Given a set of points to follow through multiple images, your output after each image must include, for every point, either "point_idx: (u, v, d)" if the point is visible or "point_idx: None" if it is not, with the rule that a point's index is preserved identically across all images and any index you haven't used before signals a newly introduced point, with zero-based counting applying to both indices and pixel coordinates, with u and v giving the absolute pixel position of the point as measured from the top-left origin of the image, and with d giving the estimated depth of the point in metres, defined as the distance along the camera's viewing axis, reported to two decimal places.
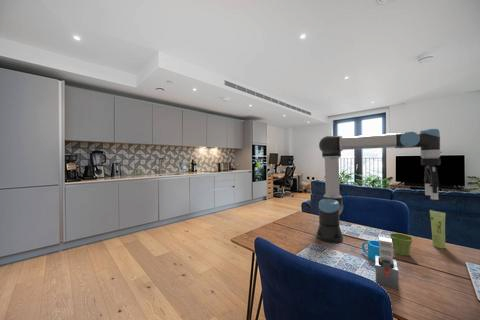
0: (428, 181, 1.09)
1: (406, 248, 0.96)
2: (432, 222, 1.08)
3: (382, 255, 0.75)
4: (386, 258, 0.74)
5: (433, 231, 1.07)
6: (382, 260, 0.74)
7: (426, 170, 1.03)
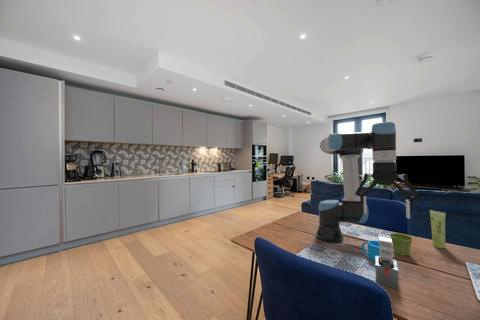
0: (406, 196, 0.72)
1: (406, 248, 0.96)
2: (432, 222, 1.08)
3: (382, 255, 0.75)
4: (386, 258, 0.74)
5: (433, 231, 1.07)
6: (382, 260, 0.74)
7: None
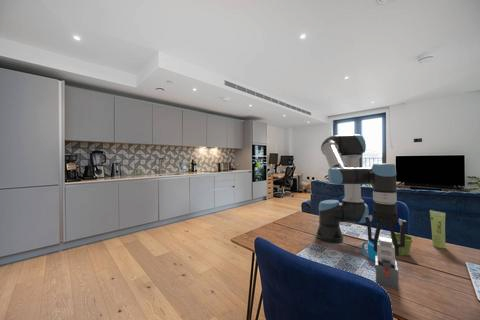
0: (393, 241, 0.74)
1: (406, 248, 0.96)
2: (432, 222, 1.08)
3: (382, 255, 0.75)
4: (386, 258, 0.74)
5: (433, 231, 1.07)
6: (382, 260, 0.74)
7: None
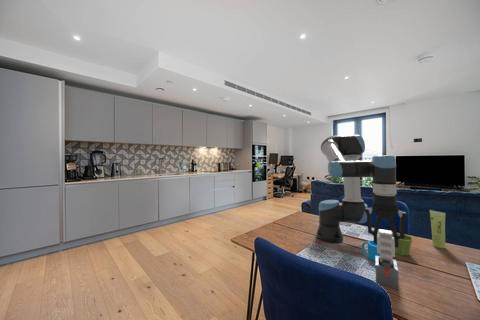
0: (393, 233, 0.74)
1: (406, 248, 0.96)
2: (432, 222, 1.08)
3: (382, 247, 0.75)
4: (386, 250, 0.74)
5: (433, 231, 1.07)
6: (382, 252, 0.74)
7: None
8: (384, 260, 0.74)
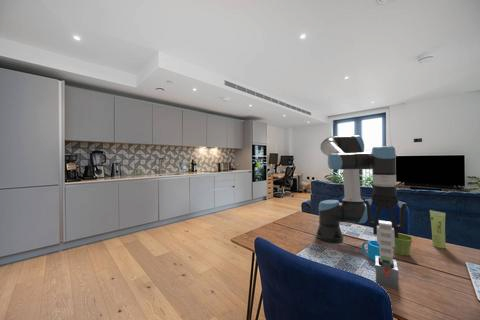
0: (393, 224, 0.75)
1: (406, 248, 0.96)
2: (432, 222, 1.08)
3: (382, 238, 0.75)
4: (386, 241, 0.74)
5: (433, 231, 1.07)
6: (382, 243, 0.74)
7: None
8: (384, 251, 0.74)
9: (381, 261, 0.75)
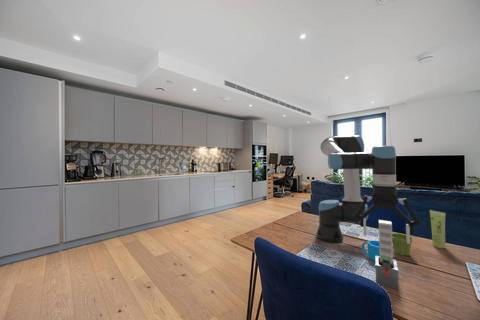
0: (406, 221, 0.72)
1: (406, 248, 0.96)
2: (432, 222, 1.08)
3: (382, 237, 0.75)
4: (386, 240, 0.74)
5: (433, 231, 1.07)
6: (382, 242, 0.74)
7: None
8: (384, 250, 0.74)
9: (381, 261, 0.75)
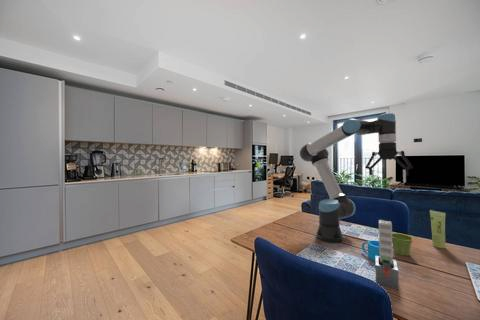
0: (403, 167, 1.00)
1: (406, 248, 0.96)
2: (432, 222, 1.08)
3: (382, 237, 0.75)
4: (386, 240, 0.74)
5: (433, 231, 1.07)
6: (382, 242, 0.74)
7: None
8: (384, 250, 0.74)
9: (381, 261, 0.75)
